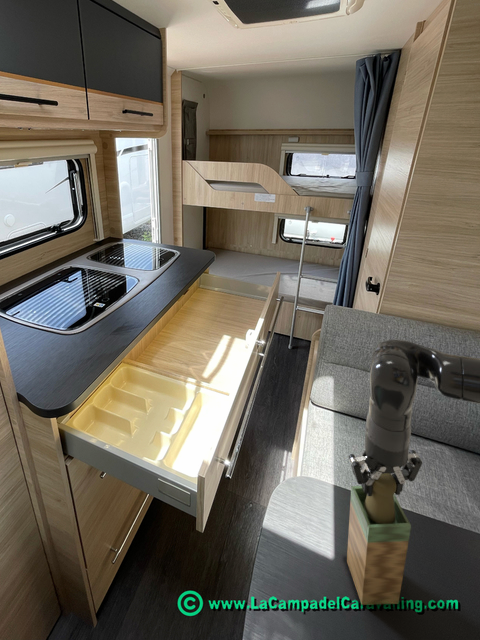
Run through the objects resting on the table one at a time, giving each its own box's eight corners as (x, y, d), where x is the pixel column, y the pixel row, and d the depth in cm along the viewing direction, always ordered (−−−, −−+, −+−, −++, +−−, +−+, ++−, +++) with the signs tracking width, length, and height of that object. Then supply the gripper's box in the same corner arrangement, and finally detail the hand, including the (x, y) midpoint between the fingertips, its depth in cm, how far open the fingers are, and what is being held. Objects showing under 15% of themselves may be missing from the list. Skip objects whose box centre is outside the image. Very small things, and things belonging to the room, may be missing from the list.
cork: (402, 521, 70) (406, 486, 66) (376, 529, 69) (379, 494, 65) (382, 493, 75) (385, 459, 72) (358, 500, 75) (360, 466, 71)
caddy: (379, 561, 86) (389, 484, 75) (398, 605, 78) (411, 525, 67) (346, 562, 86) (351, 486, 76) (361, 606, 78) (368, 527, 68)
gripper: (358, 453, 61) (355, 512, 67) (437, 448, 60) (427, 508, 66) (342, 420, 68) (340, 476, 74) (413, 415, 67) (405, 472, 73)
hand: (381, 491), depth 70 cm, fingers closed on cork, 5 cm apart
